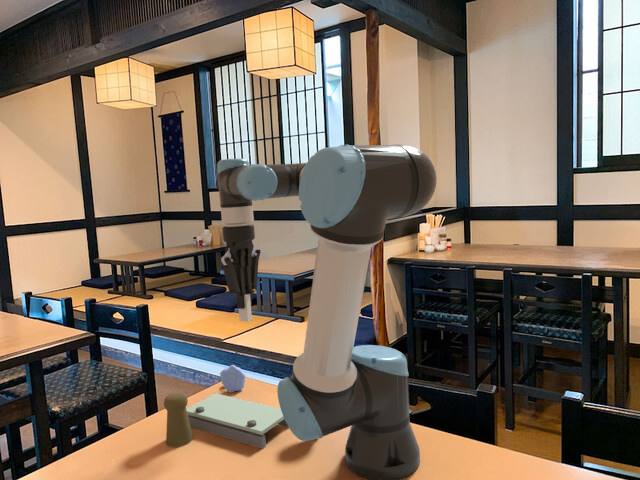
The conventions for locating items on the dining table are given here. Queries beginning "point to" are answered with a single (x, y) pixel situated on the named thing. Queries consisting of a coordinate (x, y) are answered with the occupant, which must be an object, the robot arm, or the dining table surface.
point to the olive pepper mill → (177, 420)
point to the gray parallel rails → (230, 431)
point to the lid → (237, 413)
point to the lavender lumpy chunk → (233, 378)
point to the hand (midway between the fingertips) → (245, 320)
